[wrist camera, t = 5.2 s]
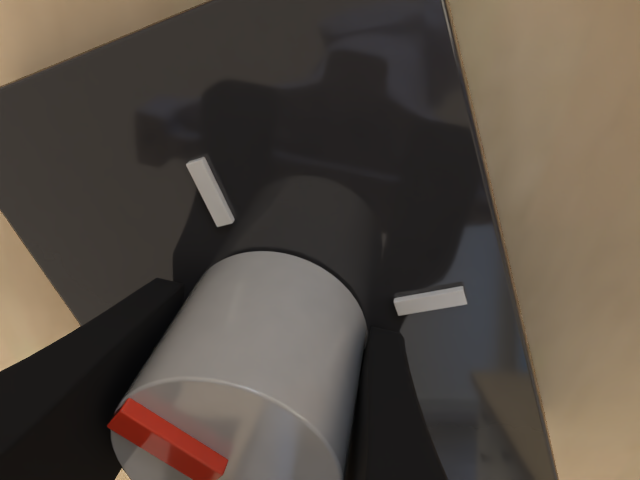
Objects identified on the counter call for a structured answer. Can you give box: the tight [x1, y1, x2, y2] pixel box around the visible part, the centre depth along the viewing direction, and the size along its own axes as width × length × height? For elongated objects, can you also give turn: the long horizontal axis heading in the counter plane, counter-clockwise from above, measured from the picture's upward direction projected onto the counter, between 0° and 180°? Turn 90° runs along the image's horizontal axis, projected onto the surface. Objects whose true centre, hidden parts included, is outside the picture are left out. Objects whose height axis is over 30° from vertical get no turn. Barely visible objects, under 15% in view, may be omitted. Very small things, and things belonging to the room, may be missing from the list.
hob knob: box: [107, 251, 368, 480], centre depth 10 cm, size 4×4×4 cm
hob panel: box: [0, 0, 559, 480], centre depth 13 cm, size 13×10×3 cm
